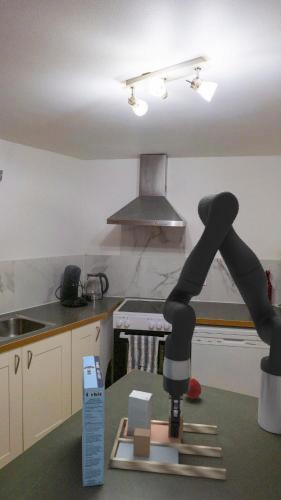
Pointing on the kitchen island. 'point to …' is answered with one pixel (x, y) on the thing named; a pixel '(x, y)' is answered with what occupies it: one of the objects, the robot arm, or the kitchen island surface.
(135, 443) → the strip empty
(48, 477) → the kitchen island surface
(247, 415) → the kitchen island surface
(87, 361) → the light blue flat box
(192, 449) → the lane rails
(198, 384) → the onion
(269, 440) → the kitchen island surface
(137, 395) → the skincare box
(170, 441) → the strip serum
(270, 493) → the kitchen island surface
